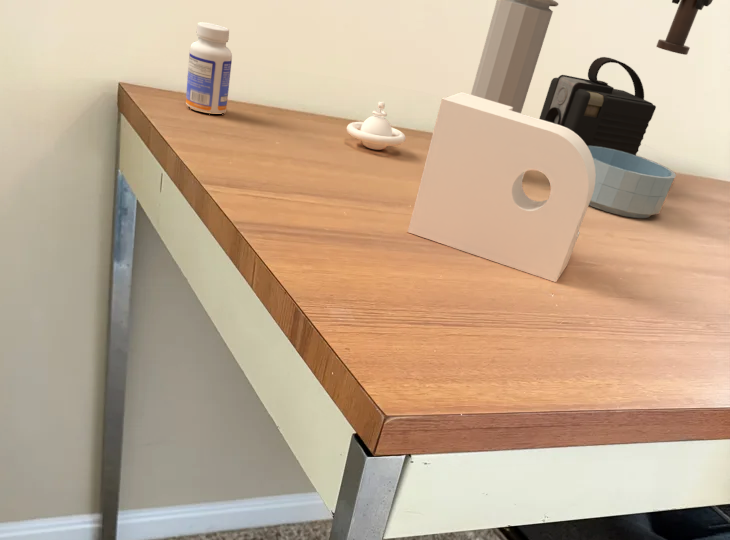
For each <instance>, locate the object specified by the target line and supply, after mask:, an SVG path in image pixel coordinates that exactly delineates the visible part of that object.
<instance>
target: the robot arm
mask: <svg viewBox="0 0 730 540" xmlns="http://www.w3.org/2000/svg"><path fill="white" fill-rule="evenodd" d="M680 1H681V0H671V3H672V4H675V5H679V4H680ZM713 1H714V0H697V3H696V9H698V11H702V10H703V8H704V7H709V6H710V5H711V4H712V3H713Z"/></svg>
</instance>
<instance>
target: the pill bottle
mask: <svg viewBox="0 0 730 540" xmlns="http://www.w3.org/2000/svg"><path fill="white" fill-rule="evenodd" d="M196 37H197V40H196V41H194V42H192V43H191V44H190V46H189V54H188V67H187V68H188V69H187V81H186V93H185V105H186V104H187V105H188V106H190V107H192V108H195V109H198V110H202V111H207V112H211V113H224V112H225V113H226V112H227V107H228V99H229V90H230V80H231V72H232V71H231V70H232V60H233V53H232V51H231V49H230V48H229V47H227V43H228V42H229V40H230V29H229V28H227V27H226V26H223V25H220V24H216V23H213V22H212V23H211V22H206V21H200V22H197V25H196ZM225 113H224V114H225Z"/></svg>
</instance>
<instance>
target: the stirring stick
mask: <svg viewBox="0 0 730 540" xmlns="http://www.w3.org/2000/svg"><path fill="white" fill-rule="evenodd" d="M696 3H697V0H680V2H679V3H678V6H677V9H676V12H675V15H674V17H673V19H672V22H671V25H670V27H669V30H668V33H667V35H666V38H665V39H658V41H657V43H656V48H658V49H661V50H664V51H667V52H671V53H675V54H678V55H684V56H685V55H686V56H688V54H689V51H690V49H691V48H690V46H687V45H685V44H686V41H687V39H688V37H689V34H690V32H691V29H692V26H693V24H694V22H695V20H696V16H697V14H698V12H699V10H698V9H696Z"/></svg>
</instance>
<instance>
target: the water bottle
mask: <svg viewBox="0 0 730 540" xmlns="http://www.w3.org/2000/svg"><path fill="white" fill-rule="evenodd" d="M495 1H496V2H495V6H494V8H493V13H492V15H491V19H490V23H489V27H488V31H487V35H486V38H485V41H484V45H483V49H482V51H481V52H482V53H481V55H480V59H479V63H478V67H477V70H476V74H475V78H474V82H473V85H472V89H471V92H470V95H474V96H477V97H480V98H484V99H487V100H490V101H494V102H497V103H501V104H504V105H507V106H511V107H513V110H512V111H514V112H517V113H521V114H522V111H523V109H524V105H525V102H526V99H527V96H528V92H529V89H530V86H531V83H532V80H533V76H534V73H535V70H536V66H537V63H538V61H539V58H540V54H541V51H542V48H543V44H544V41H545V38H546V35H547V32H548V29H549V25H550V22H551V20H552V15H553V12H554V11H553V10H552V9H550V7H558V6H559V2H557V1H556V0H495Z"/></svg>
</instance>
